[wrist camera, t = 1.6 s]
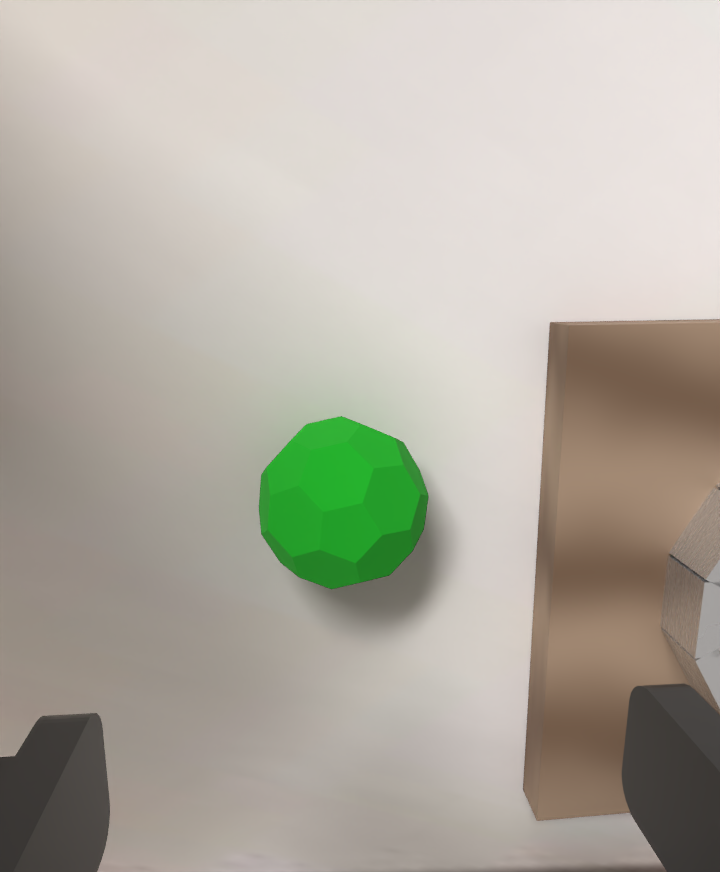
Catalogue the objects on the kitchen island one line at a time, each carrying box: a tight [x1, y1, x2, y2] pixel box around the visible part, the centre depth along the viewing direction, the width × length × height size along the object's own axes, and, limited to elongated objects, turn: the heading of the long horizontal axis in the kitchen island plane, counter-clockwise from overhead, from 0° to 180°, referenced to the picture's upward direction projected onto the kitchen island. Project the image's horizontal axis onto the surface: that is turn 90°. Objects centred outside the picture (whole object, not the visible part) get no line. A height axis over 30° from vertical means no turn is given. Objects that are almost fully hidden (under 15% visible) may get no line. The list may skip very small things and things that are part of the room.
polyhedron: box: [259, 416, 428, 589], centre depth 19 cm, size 5×5×5 cm
